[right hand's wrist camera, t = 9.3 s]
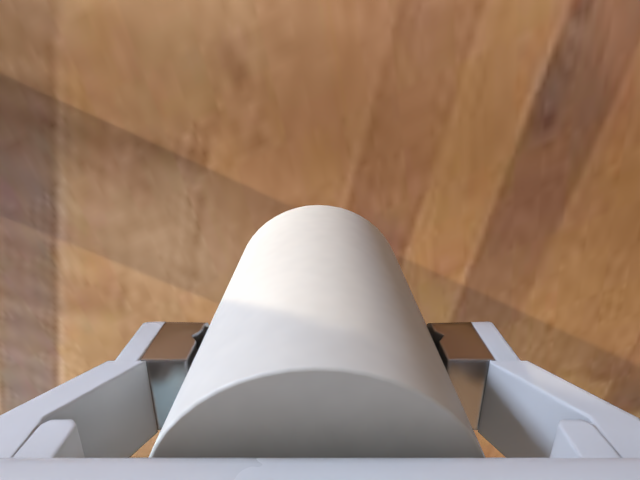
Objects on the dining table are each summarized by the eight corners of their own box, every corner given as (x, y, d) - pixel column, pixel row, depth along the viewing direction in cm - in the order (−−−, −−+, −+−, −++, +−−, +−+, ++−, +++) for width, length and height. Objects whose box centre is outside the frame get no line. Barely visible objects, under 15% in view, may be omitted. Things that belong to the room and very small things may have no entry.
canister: (267, 363, 15) (214, 643, 7) (215, 228, 13) (77, 417, 6) (412, 329, 14) (513, 592, 7) (378, 185, 13) (463, 326, 5)
